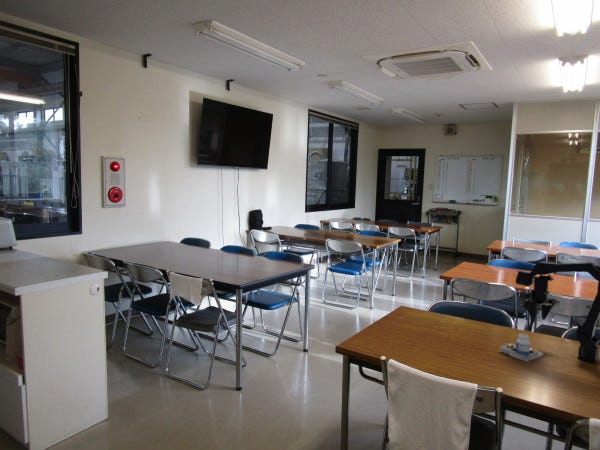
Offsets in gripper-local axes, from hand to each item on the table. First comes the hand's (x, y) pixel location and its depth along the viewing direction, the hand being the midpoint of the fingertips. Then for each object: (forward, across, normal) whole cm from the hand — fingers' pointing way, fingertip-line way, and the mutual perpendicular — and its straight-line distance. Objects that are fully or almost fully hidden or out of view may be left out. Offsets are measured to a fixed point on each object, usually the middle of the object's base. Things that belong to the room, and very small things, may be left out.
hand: (538, 320), depth 198 cm
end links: (+13, +15, +1) cm, 20 cm away
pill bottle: (+13, +17, +3) cm, 21 cm away
